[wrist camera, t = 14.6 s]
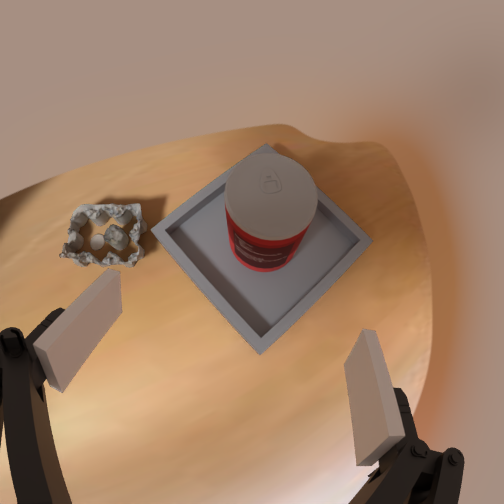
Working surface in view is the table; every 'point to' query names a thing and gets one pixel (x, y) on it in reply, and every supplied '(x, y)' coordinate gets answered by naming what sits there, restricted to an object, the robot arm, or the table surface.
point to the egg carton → (112, 234)
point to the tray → (253, 282)
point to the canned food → (268, 210)
